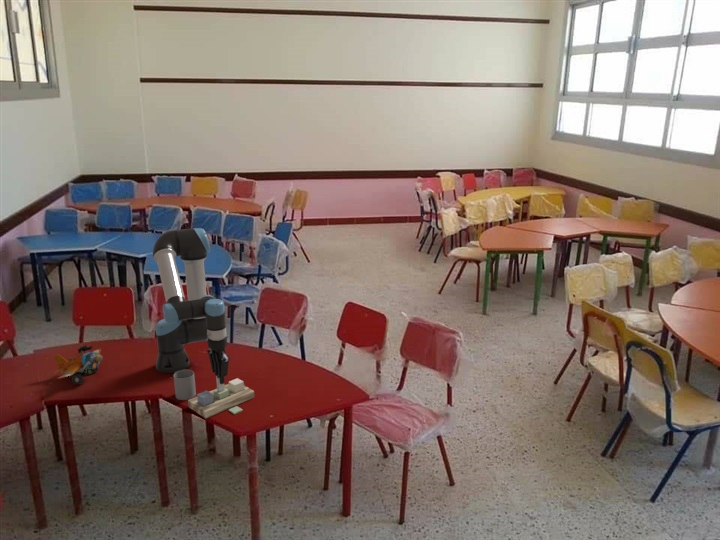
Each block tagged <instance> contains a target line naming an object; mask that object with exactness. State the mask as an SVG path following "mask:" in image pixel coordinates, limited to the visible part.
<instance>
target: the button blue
mask: <svg viewBox="0 0 720 540" xmlns="http://www.w3.org/2000/svg"><path fill="white" fill-rule="evenodd" d="M196 397H197V399H198V404H199V405H201V406H202V407H205V406H207V405H210V404H212V403H214V402H213V394H212V393H210V391H208V390H204V391H202V392H200V393H196Z"/></svg>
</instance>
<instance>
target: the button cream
mask: <svg viewBox="0 0 720 540" xmlns="http://www.w3.org/2000/svg"><path fill="white" fill-rule="evenodd" d="M228 384H229V391H231V392H233V393H234V394H236V393H238V392H241V391H243V390H244V386H245V383H244V380H241V379H240V378H238V377H237V378H235V379H232V380H229V381H228Z"/></svg>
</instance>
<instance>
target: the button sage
mask: <svg viewBox="0 0 720 540" xmlns="http://www.w3.org/2000/svg"><path fill="white" fill-rule="evenodd" d="M215 389H216V390H215ZM215 389H213V392H214V397H215V398H216V399H218V400H222V399H224V398H226V397H229V390H227V389H226V388H225V389H224V390H222V391H217V388H215Z"/></svg>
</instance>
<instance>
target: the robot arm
mask: <svg viewBox="0 0 720 540" xmlns="http://www.w3.org/2000/svg"><path fill="white" fill-rule="evenodd" d="M210 252H211V246H210V240H209V238H208V235H207V232H206V230H205V229H204V228H201V227H199V228H198V227H195V228H194V227H192V228H184V229H175V230H174V229H172V230H168V231H166V232H164V233H162V234H161V235H160V236H159V237H157V239H156V240H155V242H154V245H153V247H152V257H153V261H154V262H155V263H156V264H157V268H158V273H159V276H160V277H159V278H160V281H161V284H162V285H161V286H162V289H163V294H164V299H165V302H166V303H164V304H163V305H162V314H163V319H160V320H159V321H158V322H157V323H156V325H155V336H156V340H157V341H156V342H157V343H156V344H157V351H158V352H157V353H158V354H157V357H156V361H155V370H157V372H159V373H164V374H173V373H175V372H177V371H180V370H187V368H189V367H190V358H189V356H188V354H187V352H186V349H185V345H188V344H192V343H198V342H199V343H201V342H206V341H207V347H208V348H209V349H207V354H208V356H209V357H208V358H209V360H210V361H209V362H210V367H211V372H212V373H214V375H215V380H216V389H217V391H222V390H224V389H225V385H226V384H225V377H227V376H228V371H229V363H230V362H229V361H230V359H231V358H230V356H227V354H226V347H227V346H228V339H227V338H228V337H227V324H226V308H225V302H224V301H223V300H222V299H220V298H216V297H214V296H213V295H212V294H211V295H210V294H207V286H206V274H205V273H206V272H205V261H206V259H207V258H208V256H207V254H209V253H210ZM177 257H180V260H181V261H182V262H183V263H184V271H185V272H184V273H185V283H186V293H187V300H186V296H185V293H184V289H183V284H182V281H181V277H180V273H179V269H178V265H177V261H176V259H177Z"/></svg>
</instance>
